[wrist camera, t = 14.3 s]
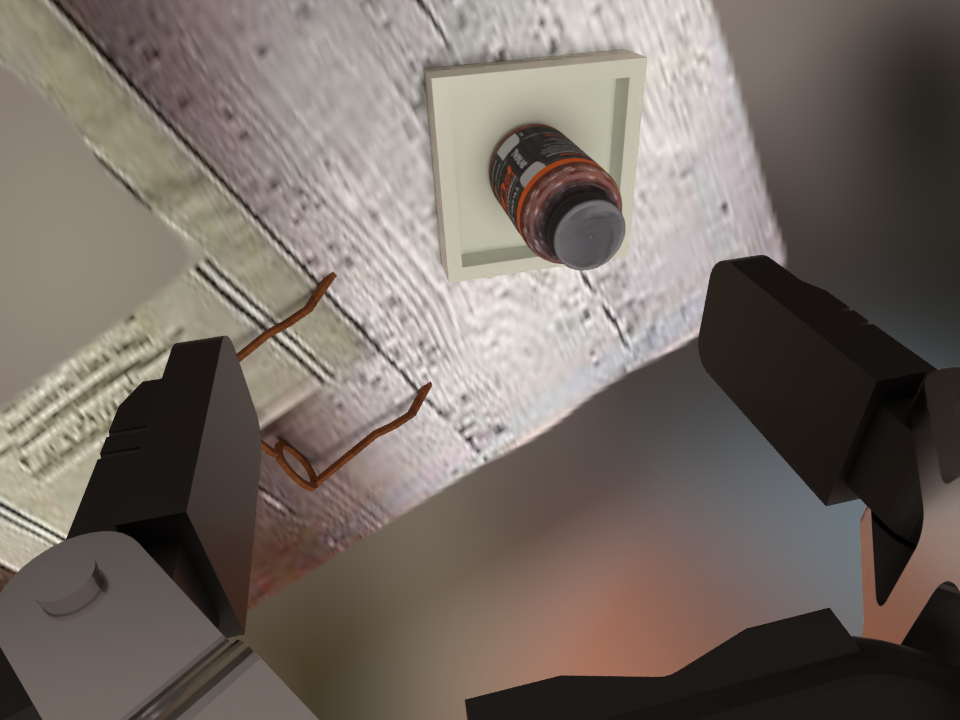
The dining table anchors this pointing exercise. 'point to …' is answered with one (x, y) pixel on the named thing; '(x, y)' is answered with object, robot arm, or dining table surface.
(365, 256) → the dining table surface
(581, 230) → the supplement bottle
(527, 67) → the tray
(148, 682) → the robot arm
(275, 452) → the glasses
